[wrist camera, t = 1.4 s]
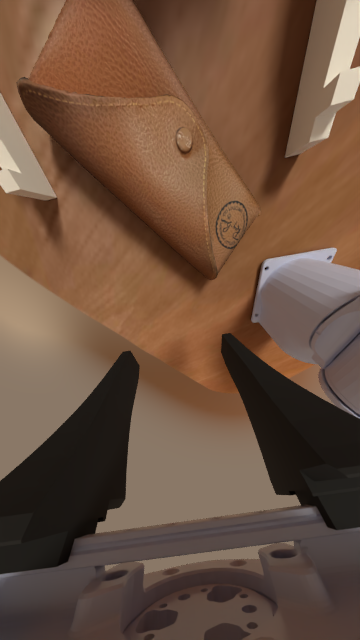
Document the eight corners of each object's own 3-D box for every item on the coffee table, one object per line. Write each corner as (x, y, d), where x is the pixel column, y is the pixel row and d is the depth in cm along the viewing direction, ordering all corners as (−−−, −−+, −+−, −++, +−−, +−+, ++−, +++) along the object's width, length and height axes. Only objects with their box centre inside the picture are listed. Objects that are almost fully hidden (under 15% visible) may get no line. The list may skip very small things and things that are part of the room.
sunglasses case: (270, 210, 13) (271, 248, 10) (216, 255, 18) (206, 289, 15) (72, -106, 6) (-131, -308, 3) (82, 119, 12) (17, 131, 9)
